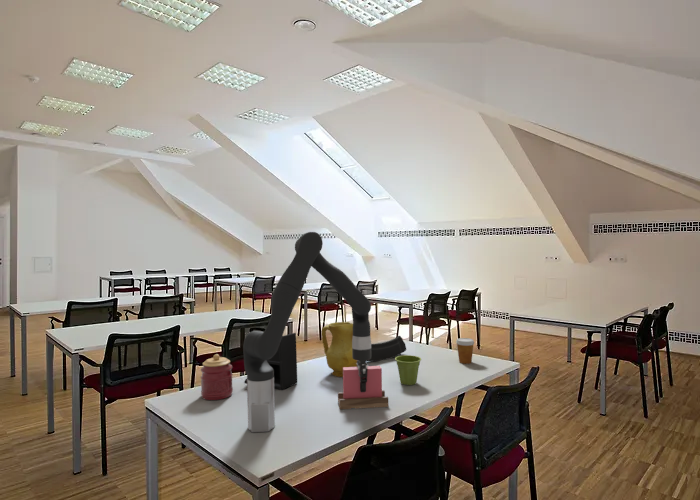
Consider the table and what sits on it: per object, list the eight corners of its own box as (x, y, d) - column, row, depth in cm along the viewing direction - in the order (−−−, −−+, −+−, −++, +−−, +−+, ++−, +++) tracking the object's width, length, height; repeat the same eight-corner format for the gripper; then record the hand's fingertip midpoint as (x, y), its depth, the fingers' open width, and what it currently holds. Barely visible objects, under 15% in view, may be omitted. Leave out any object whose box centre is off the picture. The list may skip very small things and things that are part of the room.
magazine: (362, 347, 232) (401, 324, 250) (358, 346, 235) (396, 324, 253) (369, 377, 236) (407, 352, 253) (365, 375, 238) (403, 351, 256)
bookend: (243, 382, 205) (242, 332, 205) (260, 376, 215) (259, 328, 214) (282, 390, 193) (281, 337, 193) (297, 384, 202) (297, 332, 202)
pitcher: (342, 380, 205) (340, 325, 206) (318, 373, 219) (317, 323, 221) (369, 373, 216) (367, 322, 218) (344, 368, 231) (343, 320, 232)
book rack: (388, 406, 172) (388, 397, 172) (339, 409, 170) (339, 400, 170) (384, 398, 181) (384, 390, 181) (338, 401, 179) (337, 392, 179)
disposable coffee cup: (454, 359, 239) (454, 337, 239) (472, 359, 239) (472, 337, 239) (458, 364, 230) (457, 341, 230) (476, 364, 229) (476, 341, 229)
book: (382, 398, 174) (381, 368, 174) (344, 400, 172) (343, 370, 172) (380, 395, 178) (379, 365, 178) (343, 397, 176) (342, 367, 176)
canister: (224, 388, 197) (223, 349, 197) (238, 395, 187) (237, 354, 187) (196, 395, 189) (195, 354, 188) (208, 403, 179) (208, 359, 179)
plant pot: (390, 383, 201) (389, 358, 200) (406, 377, 209) (405, 353, 209) (411, 389, 192) (410, 363, 192) (426, 382, 201) (426, 358, 201)
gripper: (373, 350, 168) (374, 395, 168) (368, 342, 182) (369, 383, 183) (354, 351, 168) (355, 396, 168) (350, 343, 182) (351, 384, 182)
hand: (362, 389), depth 175 cm, fingers closed on book, 4 cm apart
